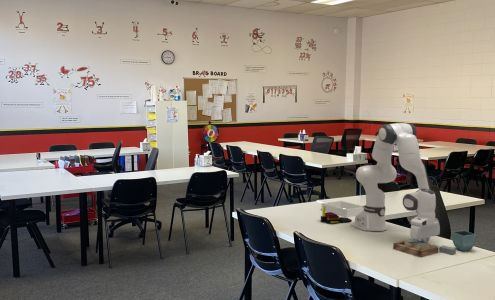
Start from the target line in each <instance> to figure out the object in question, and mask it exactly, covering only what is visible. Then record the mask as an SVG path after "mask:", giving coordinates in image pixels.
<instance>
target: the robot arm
mask: <svg viewBox="0 0 495 300" xmlns="http://www.w3.org/2000/svg"><path fill="white" fill-rule="evenodd" d="M417 134H418V130H417V128H416V126H415V124H413V123H410V122H409V123H408V122H406V123H404V122H396V123H386V124H383V125H381V126H380V127H379V129H378V133H377V135H376V138H375V141H374V145H373V149H372V152H371V156H372V159H373V160H374V161H376V164H375V165H374V164H373V165H372V164H371V165H362V166H360V167H358V168H357V169H356V172H355V178H356V180H357V181H358V182H359V183H360V184H361V185H362V186H363V189H364V191H365V205H363V206H364V207H362V208H364V210H363V211H362V212H361V213H359V214H358V215H356V216H354V217H355V218H354V221H353V222H350V226H351V227H354V228H357V229H359V230H362V231H371V232H383V231H387V224H386V216H385V215H386V204H385V203H386V194H385V192H384V191H383V190H382V189H380V188H379V187H378V184H387V183H391V182H394V181H395V180H396V178H397V170H396V168H395V167H394V165H392V155H393V151H394V148H395V145H396V146H397V148H398V149H397V150H398V151H397V152H398V153H397V154H398V161H399V165H400V166H401V168H402V169H404V170H405V171H408V172H410V173H412V174H413V175H414V176H415V178H416V182H417V186H418V190H417V191H415V192H410V193H407V194H405V195H404V196H403V197H402V205H403V207H404V209H405V210H406V211H410V212H413V211H416V212H417V215H416V216H415V217H413V218H412V219H411V220H410V224H411V226H410V238H411V239H415V240H420V241H423V242H427V243H429V242H430V240H431V237H435V236H439V235H440V233H441V232H440V231H441V229H440V228H441V227H440V222H439V219H438V218H437V217H436V206H437V205H436V204H437V202H436V201H437V199H436V193H435V191H433V190H432V189H431V185H430V181H429V177H428V172H427V168H426V166H425V164H424V163H423V161H422V159H421V152H420V146H419V143H418V139H417Z"/></svg>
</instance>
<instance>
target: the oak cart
mask: <svg viewBox="0 0 495 300" xmlns="http://www.w3.org/2000/svg"><path fill="white" fill-rule="evenodd" d="M411 239H412V238H411ZM406 240H407V241H406ZM406 240H404V241H405V242H404V246H408V247H411V248H414V249H418V250H423V249H427V248H431V244H430V243H429V242H428V243H427V242H423V241H421V239H419V240H415V239H412V240H410V239H406Z"/></svg>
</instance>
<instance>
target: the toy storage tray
mask: <svg viewBox="0 0 495 300" xmlns="http://www.w3.org/2000/svg"><path fill="white" fill-rule="evenodd" d="M324 206H325V213H326V212H332V213H335V214H337V215H338V216H339V217H344V218H351V217H352V218H353V217H356V215H358V214H359V213H361V212H362V211H363V210H364V208H362V207H364V206H365V205H360V204H358V203H357V204H356V203H352V202H347V201H344V200H337V201H330V202H321V209H322V208H323V207H324ZM343 208H346V209H343Z"/></svg>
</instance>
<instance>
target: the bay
mask: <svg viewBox="0 0 495 300" xmlns="http://www.w3.org/2000/svg"><path fill="white" fill-rule="evenodd" d="M407 240H408V239H406V240H402V241H397V242H393V244H392V246H393V248H392V249H393V250H396V251H400V252H403V253H406V254H409V255H411V256H414V257H417V258H418V257H419V258H422V257H427V256H431V255H434V254H438V253H439V247H440V246H432V247H431V246H430V248H427V249H423V250H418V249H414V248H411V247H408V246H404V242H405V241H407ZM409 240H412V238H411V239H409Z"/></svg>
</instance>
